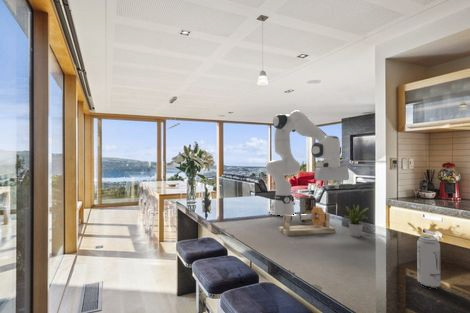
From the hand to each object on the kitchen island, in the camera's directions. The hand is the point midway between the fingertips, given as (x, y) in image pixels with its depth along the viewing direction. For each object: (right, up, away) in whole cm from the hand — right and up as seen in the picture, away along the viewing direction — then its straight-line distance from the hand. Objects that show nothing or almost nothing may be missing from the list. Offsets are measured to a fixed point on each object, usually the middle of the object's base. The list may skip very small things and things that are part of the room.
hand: (332, 188), depth 161 cm
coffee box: (-10, -24, +15) cm, 30 cm away
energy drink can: (+6, -23, -71) cm, 75 cm away
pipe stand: (-16, -23, -4) cm, 28 cm away
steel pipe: (-16, -17, -4) cm, 23 cm away
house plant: (+9, -23, -13) cm, 28 cm away
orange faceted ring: (-9, -20, -2) cm, 22 cm away
